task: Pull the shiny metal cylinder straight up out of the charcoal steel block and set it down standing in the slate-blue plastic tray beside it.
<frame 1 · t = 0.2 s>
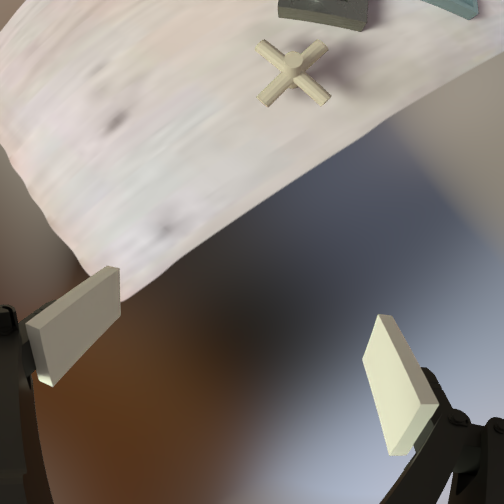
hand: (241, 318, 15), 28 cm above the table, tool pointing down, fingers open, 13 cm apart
pipe connector: (292, 82, 37), on the table
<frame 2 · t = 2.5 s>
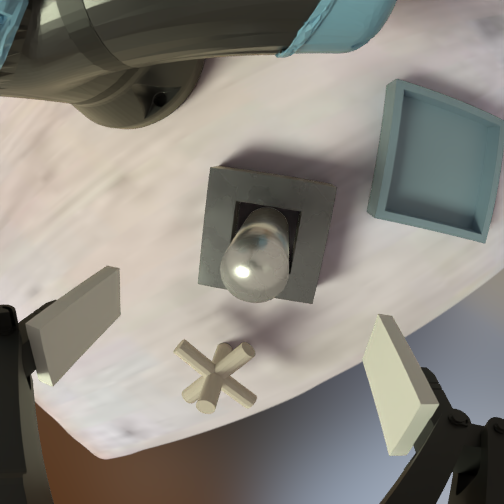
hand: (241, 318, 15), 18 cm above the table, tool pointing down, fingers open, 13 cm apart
shiny metal cylinder: (261, 245, 26), in the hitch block
parts tray: (435, 163, 28), on the table
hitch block: (266, 229, 32), on the table
pipe connector: (224, 348, 37), on the table
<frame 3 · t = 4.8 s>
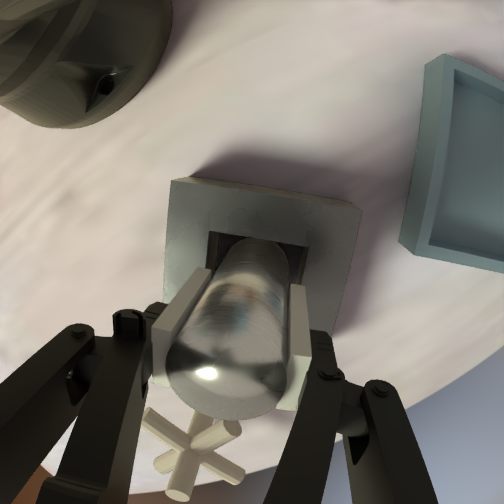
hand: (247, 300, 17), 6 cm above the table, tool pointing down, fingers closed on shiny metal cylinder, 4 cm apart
shiny metal cylinder: (245, 306, 17), in the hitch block, touching gripper
parts tray: (487, 174, 19), on the table
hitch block: (256, 266, 23), on the table
pipe connector: (206, 408, 28), on the table
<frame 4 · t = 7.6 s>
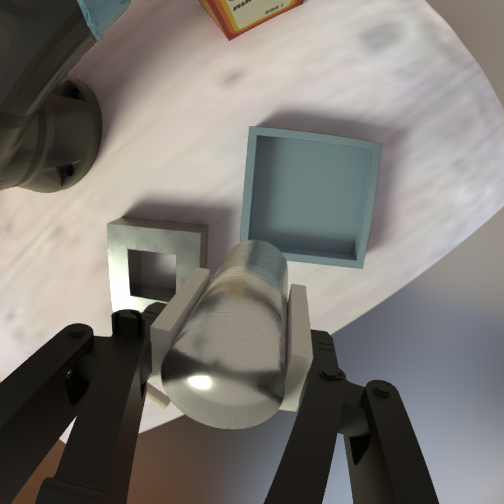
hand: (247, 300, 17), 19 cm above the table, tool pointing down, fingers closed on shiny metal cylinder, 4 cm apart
baking soda box: (251, 2, 28), on the table
shiny metal cylinder: (243, 311, 16), point 20 cm above the table, touching gripper
parts tray: (307, 194, 34), on the table
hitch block: (162, 265, 38), on the table
pipe connector: (149, 359, 43), on the table
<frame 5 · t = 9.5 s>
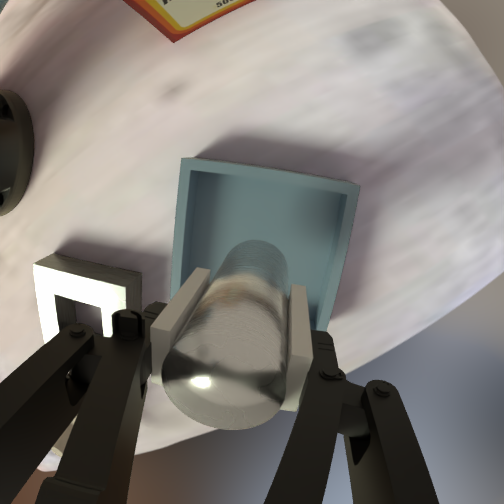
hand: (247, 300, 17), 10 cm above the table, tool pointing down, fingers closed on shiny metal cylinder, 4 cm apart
shiny metal cylinder: (243, 311, 16), point 12 cm above the table, touching gripper
parts tray: (260, 245, 27), on the table
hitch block: (95, 311, 31), on the table
pipe connector: (93, 401, 36), on the table
when the fingers open (7 cm above the table, at t = 10.8 s): shiny metal cylinder drops 3 cm, resting on parts tray.
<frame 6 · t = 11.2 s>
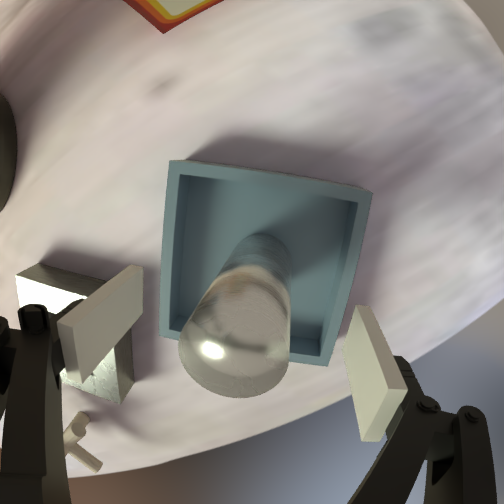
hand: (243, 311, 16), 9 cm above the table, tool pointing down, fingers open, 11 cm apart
shiny metal cylinder: (251, 296, 18), in the parts tray, point 7 cm above the table
parts tray: (259, 258, 24), on the table
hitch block: (83, 325, 28), on the table
pipe connector: (84, 416, 33), on the table
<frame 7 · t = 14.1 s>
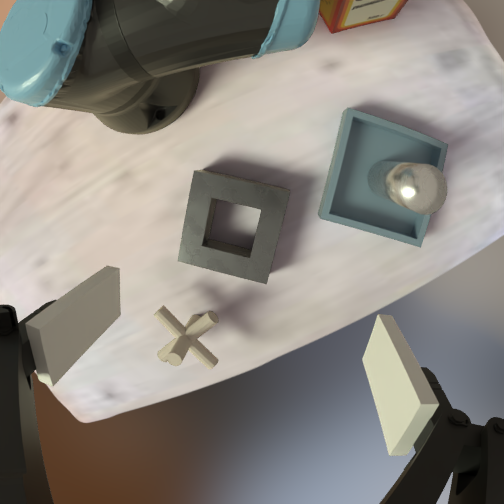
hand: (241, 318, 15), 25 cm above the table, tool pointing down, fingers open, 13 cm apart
baking soda box: (352, 6, 31), on the table
shiny metal cylinder: (402, 183, 30), in the parts tray, point 7 cm above the table
parts tray: (381, 177, 37), on the table
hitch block: (235, 222, 40), on the table
pipe connector: (196, 319, 45), on the table
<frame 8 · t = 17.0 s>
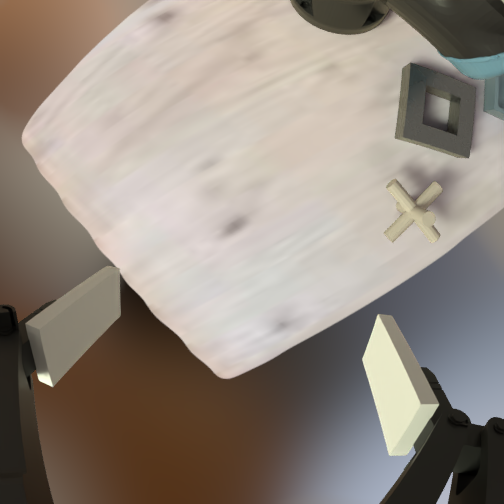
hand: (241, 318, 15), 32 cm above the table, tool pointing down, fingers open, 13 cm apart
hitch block: (432, 112, 39), on the table
pipe connector: (401, 205, 43), on the table
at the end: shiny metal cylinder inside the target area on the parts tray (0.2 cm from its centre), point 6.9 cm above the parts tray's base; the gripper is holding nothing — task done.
